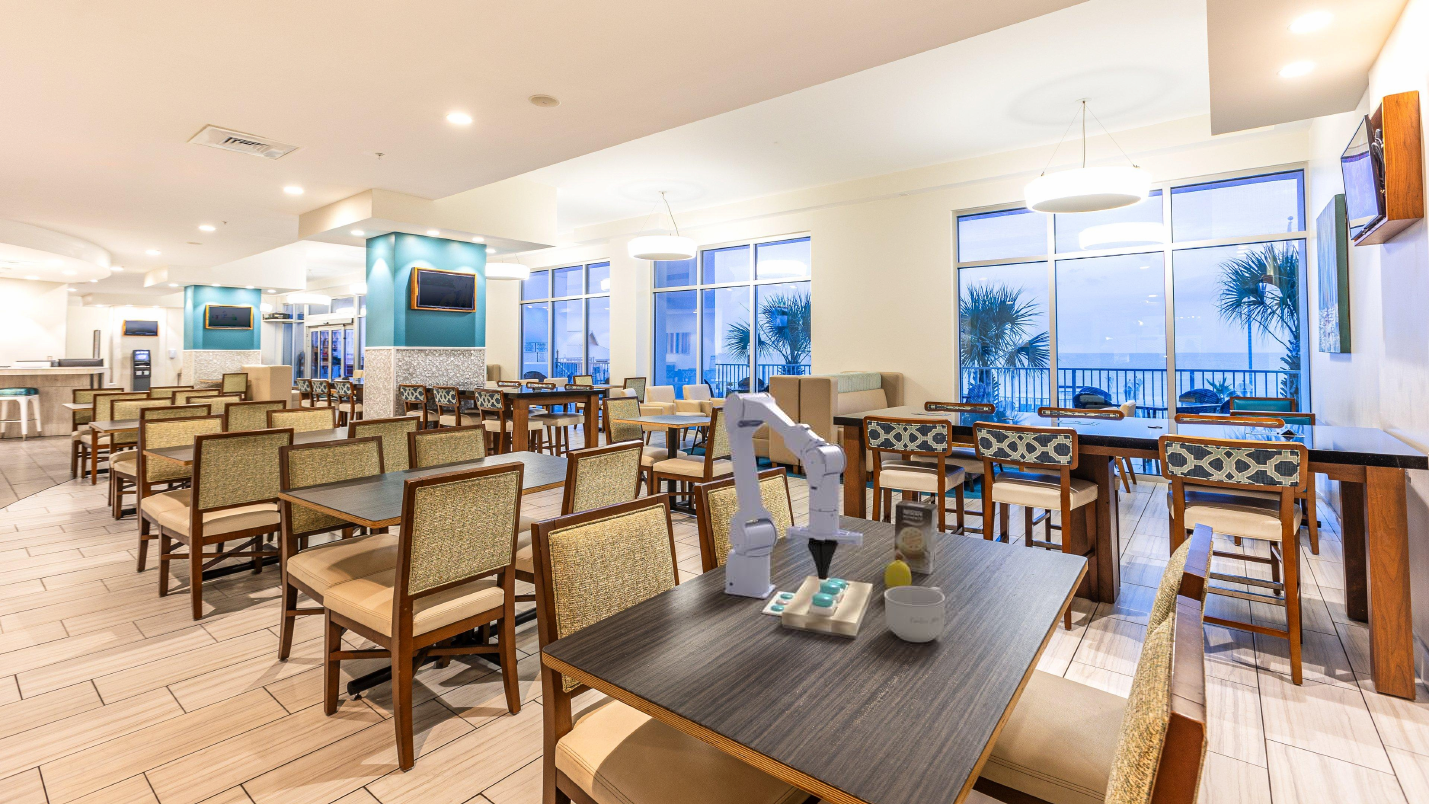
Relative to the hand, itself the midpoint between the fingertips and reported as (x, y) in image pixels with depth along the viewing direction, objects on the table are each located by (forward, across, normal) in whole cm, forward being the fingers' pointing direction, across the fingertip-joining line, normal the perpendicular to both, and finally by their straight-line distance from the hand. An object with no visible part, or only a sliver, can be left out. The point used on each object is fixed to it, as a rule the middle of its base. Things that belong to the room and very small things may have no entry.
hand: (823, 577), depth 121 cm
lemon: (+10, +12, +21) cm, 26 cm away
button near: (+7, 0, 0) cm, 7 cm away
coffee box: (+10, +14, +42) cm, 45 cm away
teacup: (+10, +18, +3) cm, 20 cm away
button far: (+9, 0, +14) cm, 16 cm away
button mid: (+7, 0, +7) cm, 10 cm away
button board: (+9, 0, +7) cm, 12 cm away
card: (+9, -10, +7) cm, 15 cm away
